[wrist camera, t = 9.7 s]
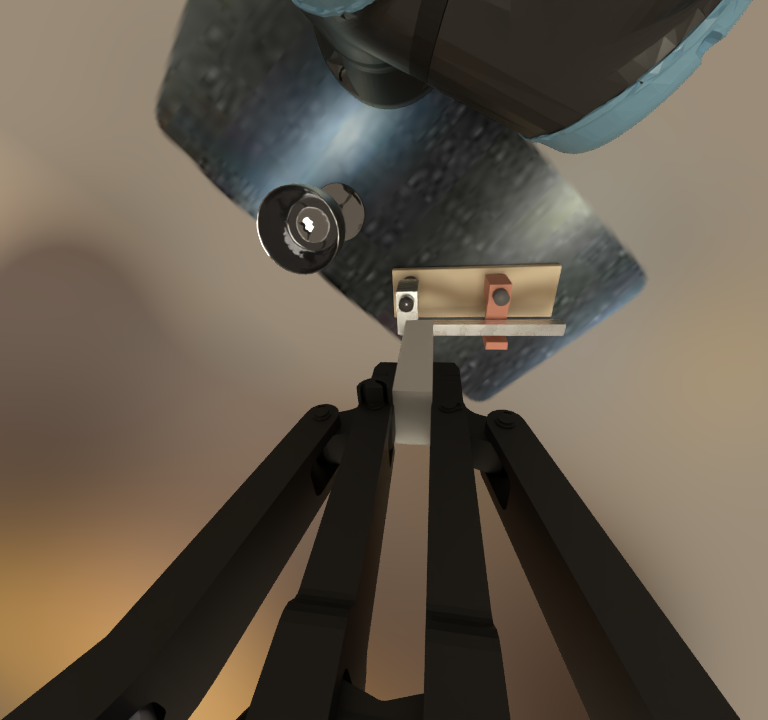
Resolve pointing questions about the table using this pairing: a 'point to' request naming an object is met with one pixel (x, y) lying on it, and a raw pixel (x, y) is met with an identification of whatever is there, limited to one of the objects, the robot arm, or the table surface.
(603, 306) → the table surface
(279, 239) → the wine glass
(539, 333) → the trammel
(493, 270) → the bolt plate
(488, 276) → the slide leg
